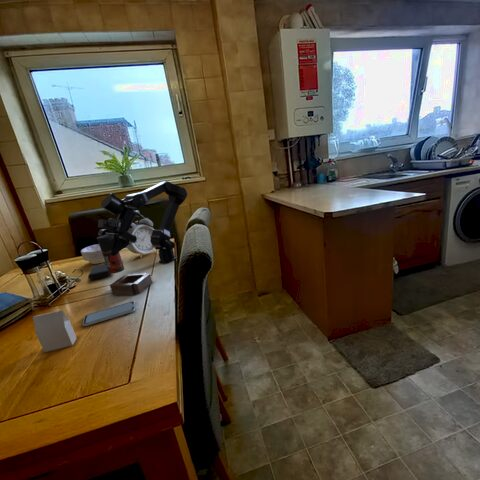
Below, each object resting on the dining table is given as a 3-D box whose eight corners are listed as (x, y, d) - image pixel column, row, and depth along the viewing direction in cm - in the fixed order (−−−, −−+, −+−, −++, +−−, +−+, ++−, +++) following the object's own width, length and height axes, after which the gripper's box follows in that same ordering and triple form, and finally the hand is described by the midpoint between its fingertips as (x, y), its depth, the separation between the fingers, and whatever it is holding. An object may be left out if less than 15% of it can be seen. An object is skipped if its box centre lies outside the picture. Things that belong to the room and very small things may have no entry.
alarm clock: (136, 260, 143) (124, 218, 135) (127, 259, 147) (115, 218, 140) (162, 250, 155) (153, 211, 147) (153, 249, 160) (143, 211, 152)
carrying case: (115, 276, 124) (117, 266, 137) (113, 269, 123) (115, 260, 136) (88, 282, 121) (93, 271, 134) (86, 275, 120) (91, 265, 133)
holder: (128, 282, 115) (125, 273, 114) (153, 281, 113) (151, 272, 112) (110, 295, 105) (107, 286, 103) (138, 294, 103) (135, 285, 101)
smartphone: (85, 314, 90) (134, 300, 96) (85, 317, 91) (134, 302, 96) (82, 325, 84) (134, 309, 90) (83, 327, 84) (135, 311, 90)
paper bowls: (107, 264, 142) (102, 250, 139) (79, 267, 143) (73, 253, 140) (122, 254, 156) (118, 241, 153) (96, 257, 157) (91, 244, 154)
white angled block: (72, 345, 76) (59, 313, 72) (44, 352, 74) (29, 320, 71) (76, 337, 79) (64, 307, 76) (50, 344, 78) (35, 313, 74)
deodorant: (106, 274, 112) (93, 239, 107) (112, 268, 118) (101, 235, 112) (121, 272, 112) (109, 237, 107) (126, 267, 118) (115, 233, 112)
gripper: (94, 210, 114) (76, 244, 110) (121, 210, 105) (102, 247, 100) (118, 224, 123) (102, 256, 119) (144, 225, 113) (128, 260, 109)
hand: (107, 254), depth 111 cm, fingers closed on deodorant, 6 cm apart
